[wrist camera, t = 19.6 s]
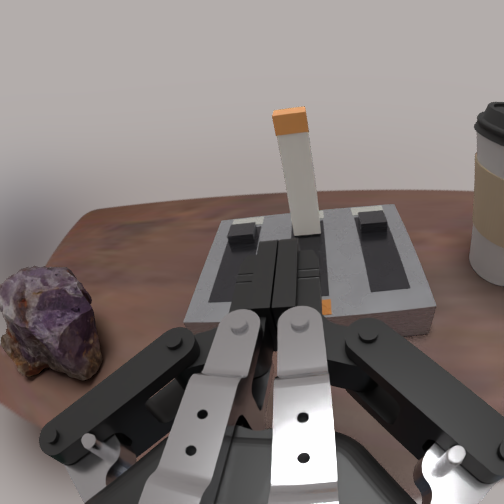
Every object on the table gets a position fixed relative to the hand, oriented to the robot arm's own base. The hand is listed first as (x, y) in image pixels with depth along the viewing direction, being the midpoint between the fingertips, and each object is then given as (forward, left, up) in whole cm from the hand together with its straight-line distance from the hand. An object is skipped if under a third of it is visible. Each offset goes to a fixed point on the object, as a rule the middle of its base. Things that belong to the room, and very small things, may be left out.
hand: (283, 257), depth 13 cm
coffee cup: (-19, -11, -12) cm, 25 cm away
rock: (+22, -3, -12) cm, 26 cm away
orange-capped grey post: (0, -15, -8) cm, 17 cm away
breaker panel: (0, -11, -12) cm, 16 cm away
